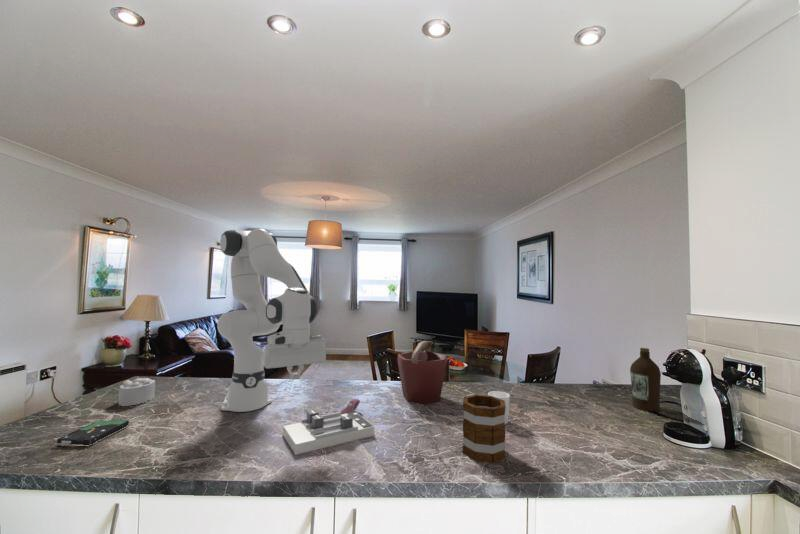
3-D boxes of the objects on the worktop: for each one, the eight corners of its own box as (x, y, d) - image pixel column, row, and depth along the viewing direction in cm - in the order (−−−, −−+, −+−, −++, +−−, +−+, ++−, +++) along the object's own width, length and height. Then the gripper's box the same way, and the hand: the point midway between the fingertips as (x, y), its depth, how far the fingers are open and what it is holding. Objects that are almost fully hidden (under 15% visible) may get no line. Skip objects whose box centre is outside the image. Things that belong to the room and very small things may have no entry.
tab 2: (340, 427, 111) (340, 416, 111) (348, 425, 113) (349, 414, 113) (343, 430, 109) (344, 419, 109) (352, 428, 110) (352, 417, 110)
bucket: (417, 387, 168) (418, 336, 169) (458, 396, 155) (459, 341, 157) (387, 400, 148) (388, 342, 150) (431, 411, 135) (432, 348, 137)
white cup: (511, 419, 129) (511, 392, 129) (508, 427, 122) (508, 399, 122) (489, 416, 132) (490, 389, 133) (486, 423, 125) (486, 395, 126)
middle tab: (311, 426, 111) (311, 416, 111) (320, 425, 113) (320, 414, 113) (314, 430, 108) (314, 419, 109) (323, 428, 110) (323, 417, 110)
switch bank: (283, 435, 112) (283, 422, 112) (355, 419, 126) (355, 408, 126) (295, 454, 99) (295, 440, 99) (374, 435, 113) (374, 423, 113)
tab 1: (306, 421, 115) (307, 411, 115) (315, 419, 117) (315, 409, 117) (309, 424, 113) (309, 414, 113) (318, 422, 114) (318, 412, 114)
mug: (515, 461, 98) (515, 408, 99) (470, 464, 96) (470, 410, 97) (487, 432, 117) (487, 388, 118) (449, 434, 115) (450, 389, 116)
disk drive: (90, 449, 102) (129, 427, 117) (91, 439, 102) (129, 419, 117) (55, 448, 102) (98, 427, 117) (56, 439, 102) (99, 418, 117)
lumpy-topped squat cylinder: (157, 396, 148) (159, 376, 148) (138, 406, 135) (140, 384, 136) (131, 396, 147) (133, 376, 147) (110, 407, 134) (111, 385, 134)
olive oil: (640, 402, 152) (639, 345, 153) (667, 410, 142) (665, 349, 143) (625, 405, 148) (624, 346, 149) (651, 413, 138) (649, 351, 139)
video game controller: (347, 423, 126) (355, 407, 126) (336, 417, 127) (345, 400, 127) (355, 414, 136) (363, 398, 135) (346, 408, 136) (354, 392, 136)
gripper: (323, 333, 121) (322, 372, 120) (262, 337, 110) (260, 380, 109) (329, 335, 116) (328, 377, 115) (266, 340, 105) (264, 385, 104)
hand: (294, 378), depth 112 cm, fingers closed
